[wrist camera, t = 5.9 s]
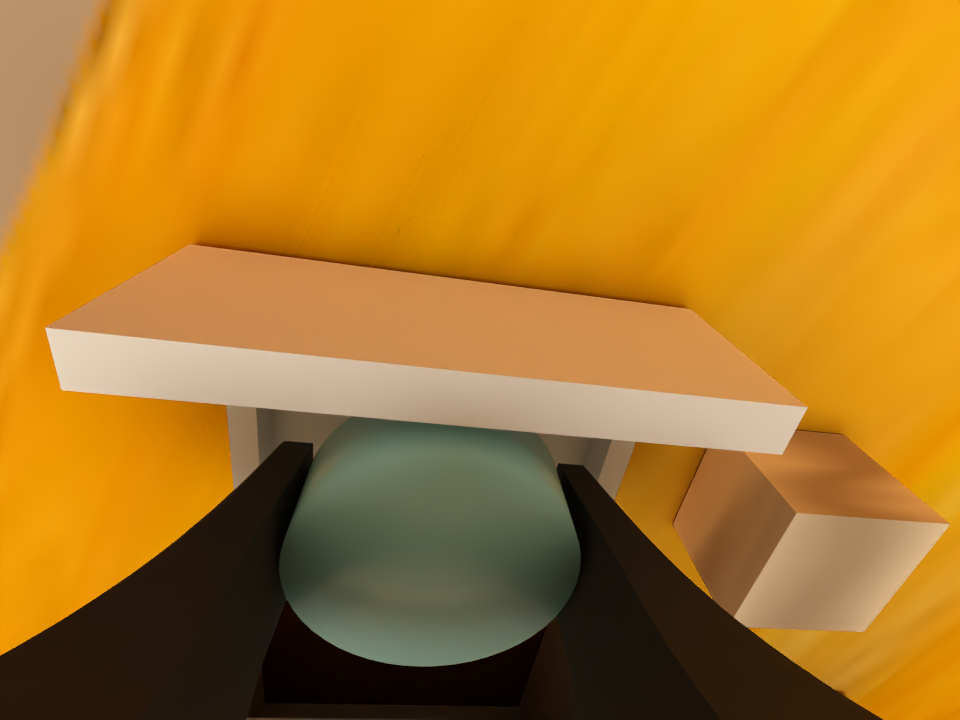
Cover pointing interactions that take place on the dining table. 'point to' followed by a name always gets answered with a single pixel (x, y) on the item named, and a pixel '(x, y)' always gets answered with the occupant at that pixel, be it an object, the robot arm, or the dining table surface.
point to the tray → (417, 359)
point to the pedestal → (803, 533)
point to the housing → (540, 716)
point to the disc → (429, 542)
